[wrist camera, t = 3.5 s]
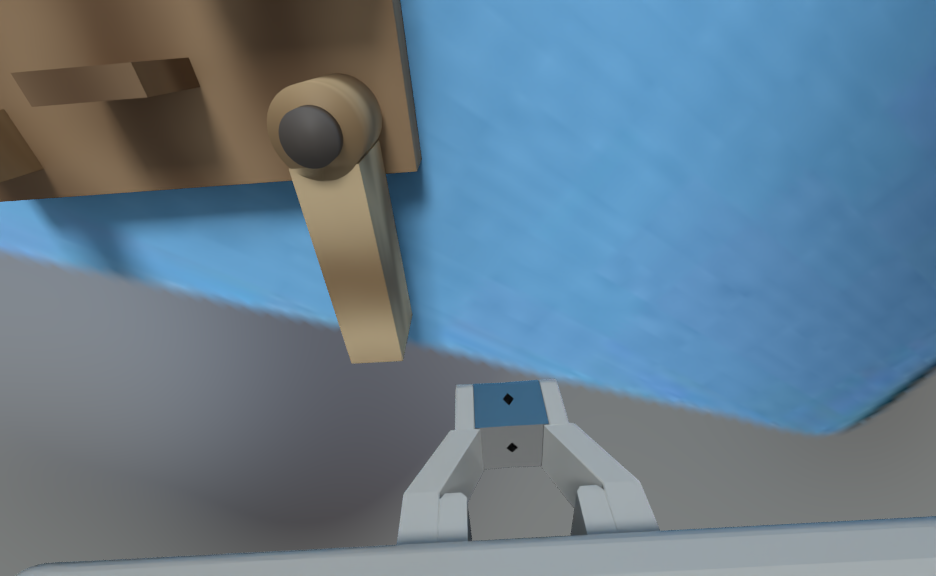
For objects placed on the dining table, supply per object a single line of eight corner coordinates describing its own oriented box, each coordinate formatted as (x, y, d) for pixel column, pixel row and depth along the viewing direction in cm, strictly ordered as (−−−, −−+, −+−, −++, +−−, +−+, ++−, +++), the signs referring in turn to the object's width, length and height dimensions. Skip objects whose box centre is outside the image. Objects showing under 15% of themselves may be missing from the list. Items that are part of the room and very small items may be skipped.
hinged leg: (295, 76, 15) (242, 89, 11) (373, 70, 15) (344, 81, 11) (362, 317, 21) (341, 373, 18) (418, 314, 21) (407, 369, 17)
